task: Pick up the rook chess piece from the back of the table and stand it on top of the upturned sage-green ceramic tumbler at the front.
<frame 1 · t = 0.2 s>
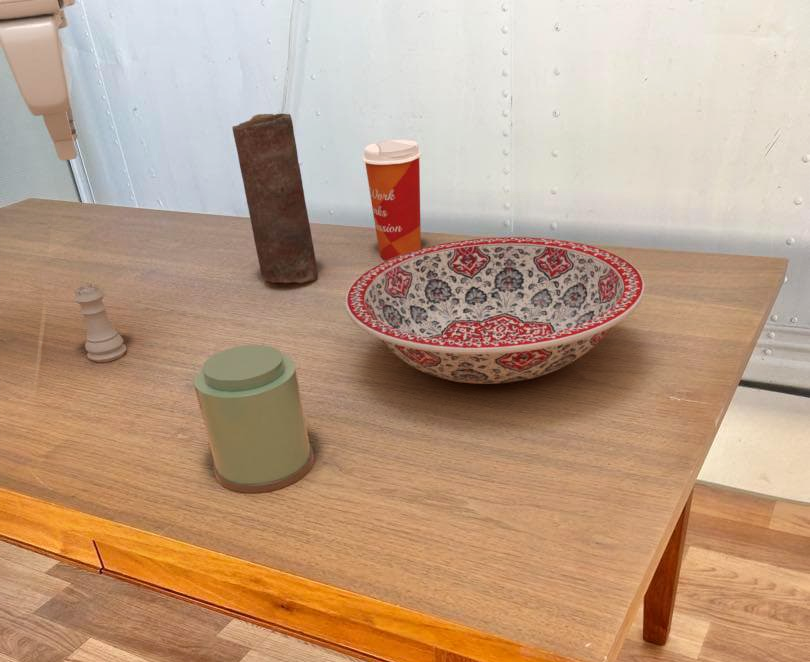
hand: (69, 149, 86), 21 cm above the table, tool pointing down, fingers open, 8 cm apart
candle: (290, 282, 112), on the table
upturned tumbler: (264, 465, 75), on the table
rook chess piece: (108, 356, 98), on the table
ceramic bowl: (493, 361, 88), on the table
paper cup: (400, 256, 117), on the table
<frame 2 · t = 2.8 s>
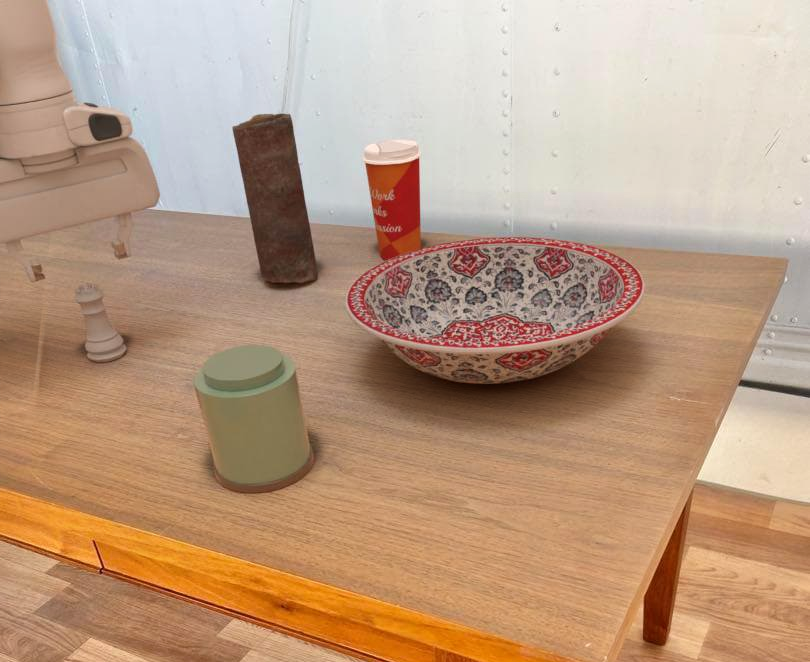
hand: (81, 268, 91), 10 cm above the table, tool pointing down, fingers open, 8 cm apart
nothing on the table moved.
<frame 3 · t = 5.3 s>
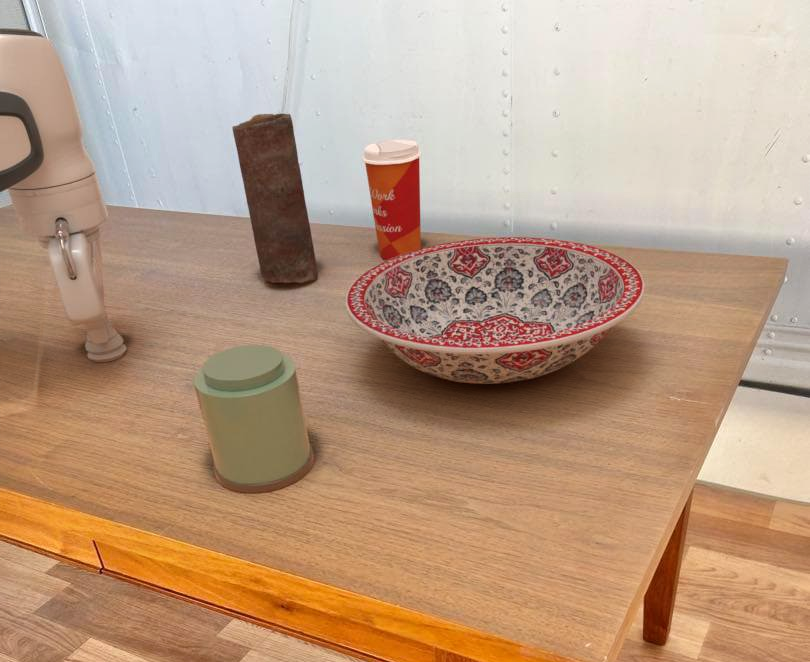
hand: (101, 333, 96), 3 cm above the table, tool pointing down, fingers closed on rook chess piece, 3 cm apart
rook chess piece: (108, 356, 98), on the table, touching gripper
everything else where it was.
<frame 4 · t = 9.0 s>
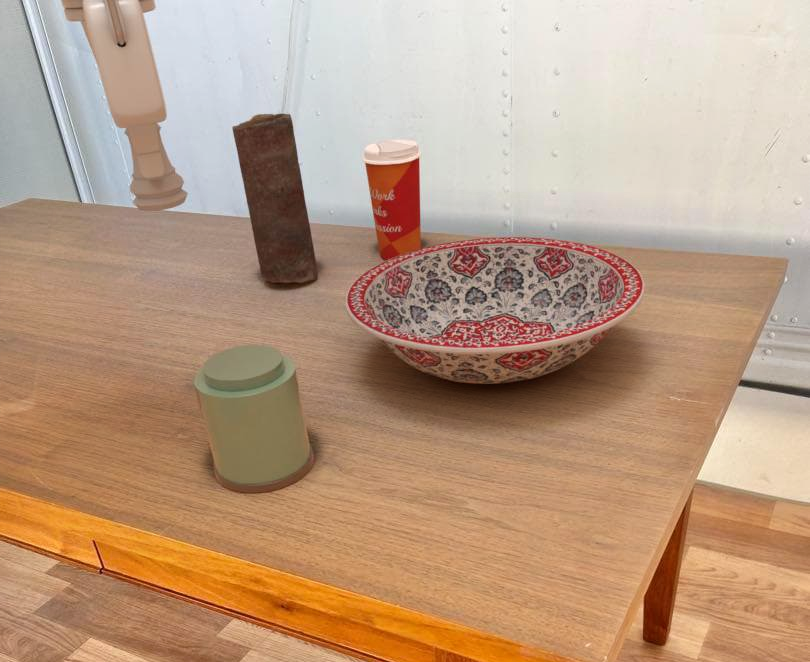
hand: (151, 169, 67), 24 cm above the table, tool pointing down, fingers closed on rook chess piece, 3 cm apart
rook chess piece: (162, 206, 69), point 21 cm above the table, touching gripper
everything else where it was.
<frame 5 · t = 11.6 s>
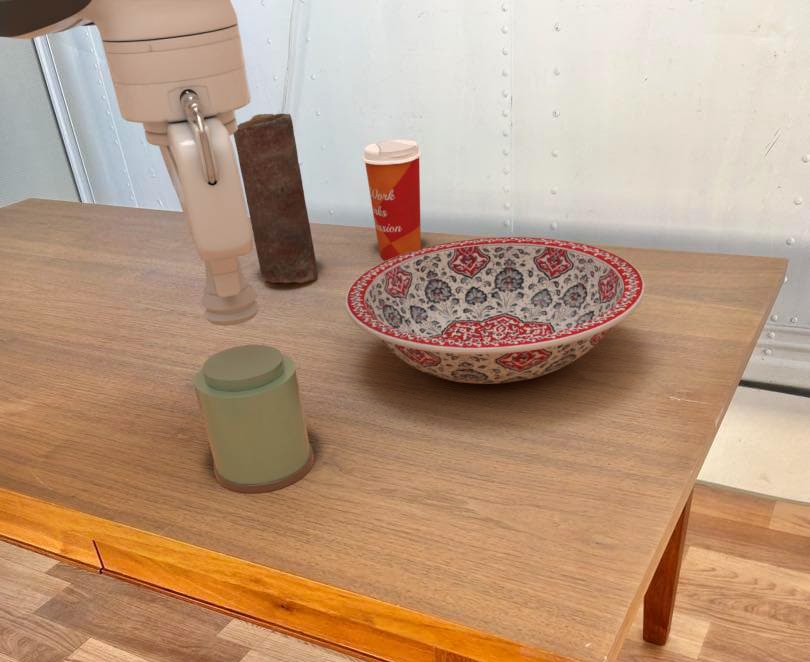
hand: (224, 282, 65), 17 cm above the table, tool pointing down, fingers closed on rook chess piece, 3 cm apart
rook chess piece: (233, 318, 67), point 14 cm above the table, touching gripper
everything else where it was.
when the fingers open (13 cm above the table, at t = 13.1 s): rook chess piece stays where it is, resting on upturned tumbler.
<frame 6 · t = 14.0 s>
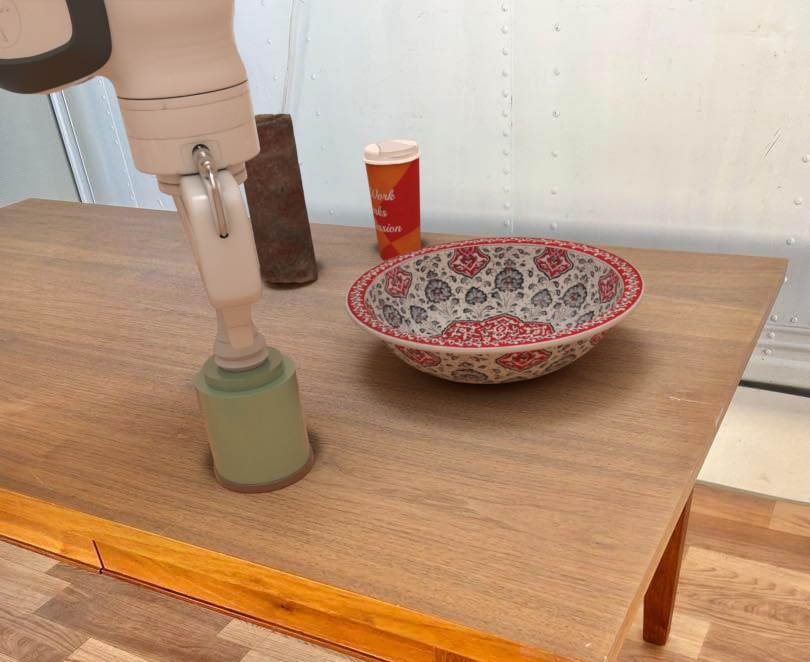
hand: (233, 322, 67), 13 cm above the table, tool pointing down, fingers open, 8 cm apart
upturned tumbler: (264, 465, 75), on the table, touching rook chess piece
rook chess piece: (243, 363, 69), point 10 cm above the table, touching upturned tumbler
everything else where it was.
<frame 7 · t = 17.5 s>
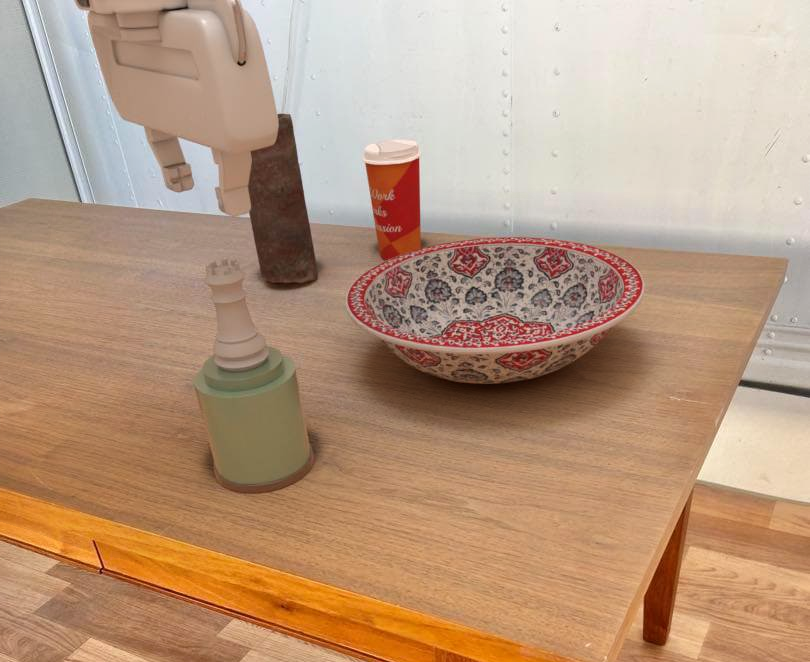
hand: (207, 201, 61), 23 cm above the table, tool pointing down, fingers open, 8 cm apart
nothing on the table moved.
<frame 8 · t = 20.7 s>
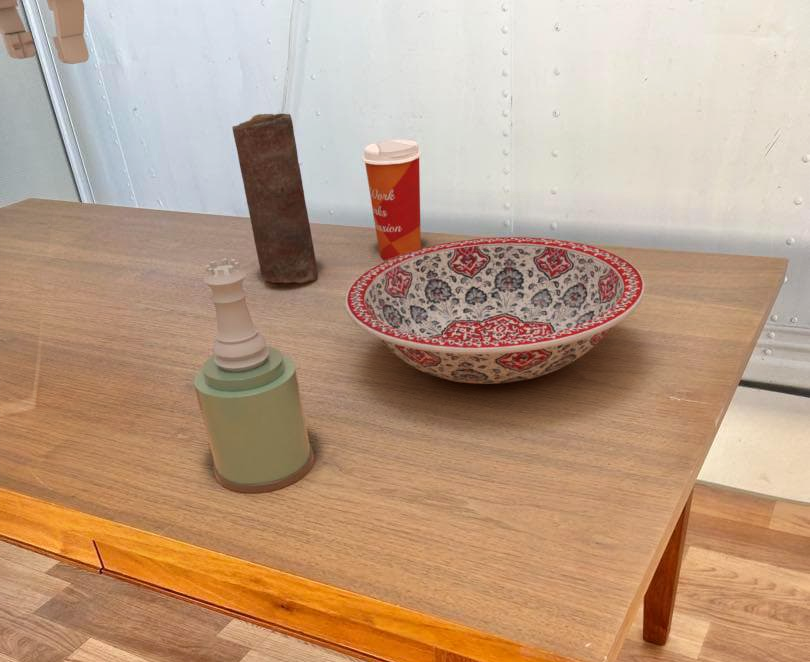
hand: (48, 60, 67), 31 cm above the table, tool pointing down, fingers open, 8 cm apart
nothing on the table moved.
at the end: rook chess piece 0.0 cm off-centre on the upturned tumbler, point 9.8 cm above the upturned tumbler's base; rook chess piece tilted 0°; upturned tumbler tilted 0° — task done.
